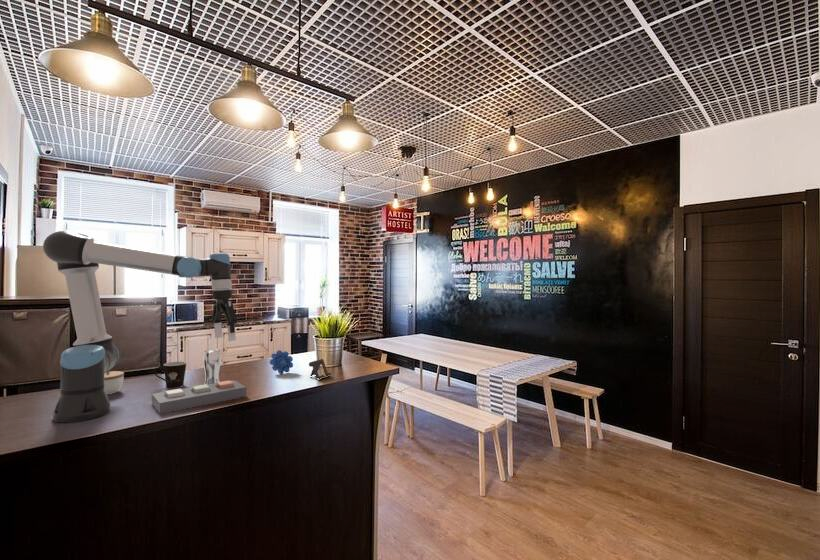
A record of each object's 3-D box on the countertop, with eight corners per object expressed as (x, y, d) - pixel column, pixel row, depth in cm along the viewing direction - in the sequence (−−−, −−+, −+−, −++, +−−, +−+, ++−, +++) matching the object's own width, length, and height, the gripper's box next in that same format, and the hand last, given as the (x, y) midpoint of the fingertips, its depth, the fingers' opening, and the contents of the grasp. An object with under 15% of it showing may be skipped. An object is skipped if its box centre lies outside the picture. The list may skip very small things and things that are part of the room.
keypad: (159, 414, 134) (159, 403, 134) (151, 404, 144) (151, 393, 144) (246, 396, 155) (246, 387, 155) (234, 389, 165) (234, 380, 165)
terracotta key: (220, 392, 152) (220, 385, 152) (216, 389, 156) (216, 382, 156) (233, 389, 156) (233, 382, 156) (229, 387, 159) (229, 380, 159)
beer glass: (222, 383, 173) (223, 351, 173) (206, 386, 168) (206, 353, 168) (217, 380, 178) (217, 348, 178) (200, 383, 173) (201, 350, 172)
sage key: (195, 396, 146) (195, 389, 146) (191, 393, 150) (192, 386, 150) (209, 394, 150) (209, 387, 150) (205, 391, 153) (205, 384, 153)
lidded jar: (130, 390, 161) (130, 368, 161) (103, 398, 151) (104, 374, 151) (111, 388, 164) (111, 366, 164) (83, 395, 153) (84, 372, 153)
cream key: (168, 401, 140) (168, 394, 140) (165, 398, 143) (165, 391, 143) (183, 398, 143) (183, 391, 143) (180, 395, 147) (180, 388, 147)
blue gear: (271, 377, 186) (271, 352, 186) (268, 373, 192) (268, 350, 192) (295, 374, 192) (295, 350, 192) (291, 371, 198) (292, 348, 198)
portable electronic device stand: (319, 381, 180) (319, 363, 180) (306, 379, 184) (306, 361, 184) (331, 376, 188) (331, 360, 188) (318, 374, 192) (318, 358, 191)
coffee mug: (190, 383, 172) (190, 361, 172) (177, 389, 163) (177, 366, 163) (166, 382, 173) (166, 360, 173) (152, 388, 165) (152, 365, 165)
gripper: (244, 289, 156) (247, 340, 157) (219, 288, 173) (222, 335, 174) (225, 290, 151) (228, 343, 152) (201, 290, 167) (204, 337, 168)
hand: (225, 339), depth 163 cm, fingers open, 13 cm apart
